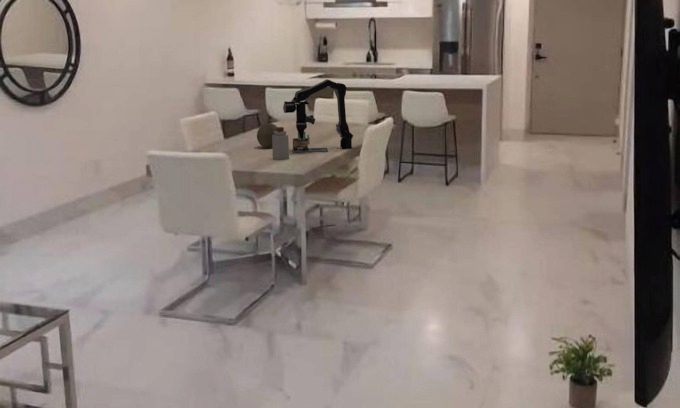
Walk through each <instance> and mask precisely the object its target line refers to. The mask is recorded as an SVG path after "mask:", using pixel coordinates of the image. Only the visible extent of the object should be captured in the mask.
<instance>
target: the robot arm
mask: <svg viewBox="0 0 680 408" xmlns="http://www.w3.org/2000/svg"><path fill="white" fill-rule="evenodd" d="M326 88H331V89H333V90H334V95H335V97H336V101H337V113H338V115H337V116H338V122H337V124H335V128H336V129H335V131H336V132H337V134H338V135H339V137H340V138H341V139H340V140H339V143H340V149H353V146H352V145H353V143H352V141H353V140H352V139H353V137H354V134H352V132H351V131H350V128H349V127H350V126H349V125H348V123H347V115H346V101H345V99H346V98H345V97H346V93H347V86H346V85H345V84H344V83H341V82H335V81H332V80H331V79H325V80H323V81H321V82H319V83H315V84H314V85H313V86H311V87H308V88H303V89H299V90H296V91H295V93H294V97H293V98H292V99H291V100H290V101H285V100H284V102H283V106H282V110H283V113H284V114H291V113H296V114H295V117H296V120H295V125H296V126H295V127H296V130H297V134H298V133H299V135H300V138H301V139H303V134H304V132H305V130H306V129H307V126H308V125H307V123H309V124H311V125H315V122H316V118H314V116H313V115H312V114H311V115H307V113H306V112H307V111H306V110H307V109H306V107H307V106H306V105H309V104H310V103H309V102H308V101H307V100H308V98H310V97H311V96H312V95H313V94H316V93H318V92H319V91H322V90H324V89H326Z"/></svg>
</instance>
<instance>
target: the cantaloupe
mask: <svg viewBox="0 0 680 408" xmlns="http://www.w3.org/2000/svg"><path fill="white" fill-rule="evenodd" d="M276 127H278V126H277V125H276V124H273V123H263V124H261V125H260V126H259V128H258V129H257V131H256V140H257V141H258V144H259V145H260V146H261V147H263V148H266V149H270V148H272V135H275V134H274V131H276Z"/></svg>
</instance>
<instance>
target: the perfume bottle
mask: <svg viewBox="0 0 680 408" xmlns="http://www.w3.org/2000/svg"><path fill="white" fill-rule="evenodd" d="M284 129H285V128H284V127H283V126H277V127H276V131H274V134H275V135H272V147H271V148H272V159H274V160H277V161H281V160H283V161H284V160H288V159H289V158H290V147H289V146H290V145H289V135H288V134H287V131H286V130H284Z"/></svg>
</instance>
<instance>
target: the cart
mask: <svg viewBox="0 0 680 408" xmlns="http://www.w3.org/2000/svg"><path fill="white" fill-rule="evenodd" d="M309 145H311V144H310V134H307V137H306V140H298V137H296V138H294V137H293V138H292V151H296V150H297V149H298V148H303V149H304V150H303V151H306V150H307V149H308V148H309Z"/></svg>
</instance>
